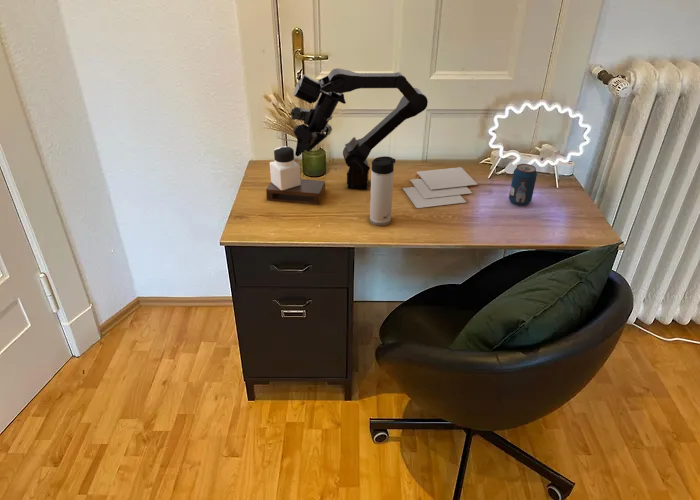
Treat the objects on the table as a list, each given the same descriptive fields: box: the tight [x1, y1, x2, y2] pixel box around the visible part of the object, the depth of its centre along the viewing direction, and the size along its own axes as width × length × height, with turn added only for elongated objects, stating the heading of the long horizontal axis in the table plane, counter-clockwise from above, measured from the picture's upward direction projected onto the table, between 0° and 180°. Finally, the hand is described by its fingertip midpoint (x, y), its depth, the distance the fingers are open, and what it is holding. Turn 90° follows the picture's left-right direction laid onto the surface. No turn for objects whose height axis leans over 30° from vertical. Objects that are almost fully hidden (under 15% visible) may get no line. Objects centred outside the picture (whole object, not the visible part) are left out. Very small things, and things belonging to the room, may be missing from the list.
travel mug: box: [369, 155, 396, 227], centre depth 156 cm, size 6×7×20 cm
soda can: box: [508, 163, 538, 208], centre depth 168 cm, size 7×7×12 cm
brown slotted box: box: [265, 178, 326, 206], centre depth 173 cm, size 17×9×4 cm, turn 81°
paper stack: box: [402, 166, 479, 209], centre depth 179 cm, size 23×25×1 cm
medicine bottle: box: [269, 145, 302, 190], centre depth 169 cm, size 7×7×12 cm
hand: (302, 153), depth 171 cm, fingers open, 9 cm apart
